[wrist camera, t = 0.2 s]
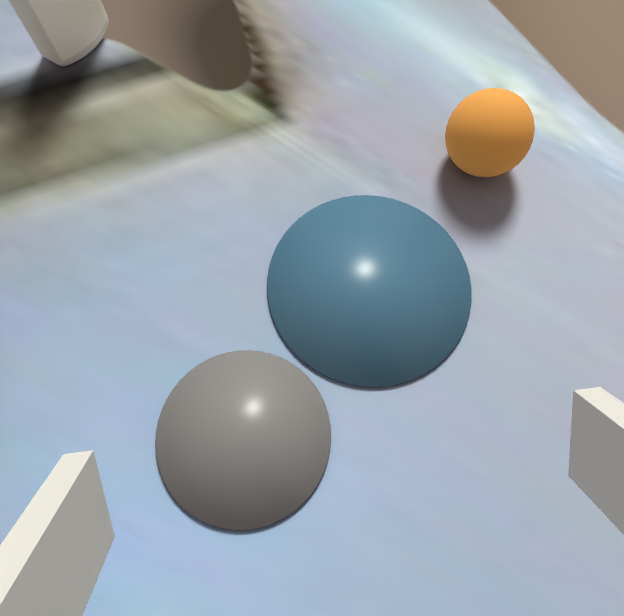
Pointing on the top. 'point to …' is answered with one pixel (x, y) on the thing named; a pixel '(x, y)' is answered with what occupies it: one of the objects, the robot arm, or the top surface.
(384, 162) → the top surface
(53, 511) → the robot arm
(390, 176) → the top surface
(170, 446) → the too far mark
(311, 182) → the top surface
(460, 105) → the ball
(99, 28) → the eye dropper bottle
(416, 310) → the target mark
